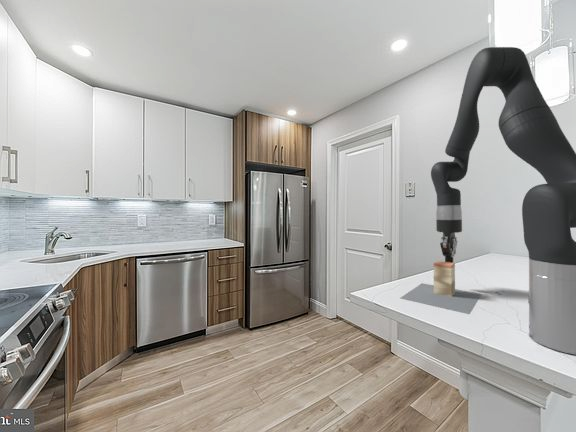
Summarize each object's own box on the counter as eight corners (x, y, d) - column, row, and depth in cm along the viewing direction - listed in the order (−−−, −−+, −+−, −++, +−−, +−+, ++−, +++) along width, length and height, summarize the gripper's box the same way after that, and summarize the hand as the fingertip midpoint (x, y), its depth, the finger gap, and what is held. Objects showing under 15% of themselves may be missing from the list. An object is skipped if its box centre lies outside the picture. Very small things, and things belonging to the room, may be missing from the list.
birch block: (455, 292, 82) (454, 263, 82) (451, 296, 78) (451, 265, 78) (438, 289, 85) (437, 261, 85) (433, 293, 82) (433, 263, 82)
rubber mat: (481, 294, 80) (481, 293, 80) (469, 315, 65) (469, 314, 65) (421, 284, 93) (421, 283, 93) (399, 299, 78) (399, 298, 78)
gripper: (457, 219, 78) (457, 272, 79) (465, 218, 88) (466, 266, 88) (431, 219, 84) (431, 269, 84) (441, 218, 93) (442, 263, 93)
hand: (449, 267), depth 86 cm, fingers closed
